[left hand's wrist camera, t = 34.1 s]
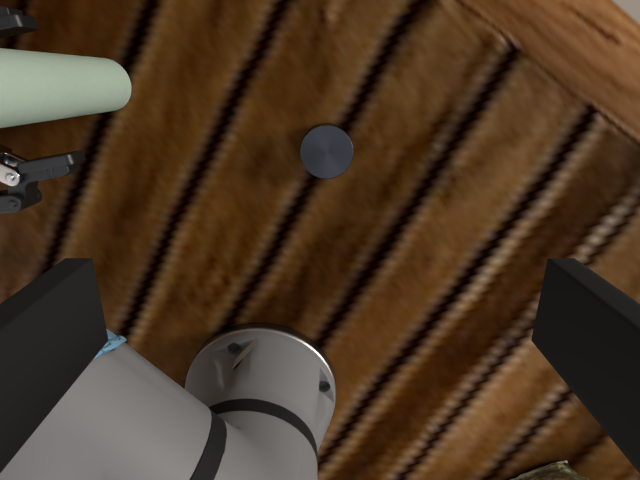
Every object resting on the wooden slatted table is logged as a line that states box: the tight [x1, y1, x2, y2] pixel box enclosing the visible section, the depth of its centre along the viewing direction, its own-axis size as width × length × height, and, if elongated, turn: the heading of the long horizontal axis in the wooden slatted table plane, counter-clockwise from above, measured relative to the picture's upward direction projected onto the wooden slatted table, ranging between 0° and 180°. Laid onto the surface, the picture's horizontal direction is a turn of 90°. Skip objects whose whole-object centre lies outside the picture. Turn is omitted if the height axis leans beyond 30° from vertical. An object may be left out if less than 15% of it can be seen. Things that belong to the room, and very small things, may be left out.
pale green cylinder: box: [0, 48, 131, 128], centre depth 26 cm, size 4×4×17 cm
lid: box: [300, 123, 353, 179], centre depth 35 cm, size 4×4×2 cm
